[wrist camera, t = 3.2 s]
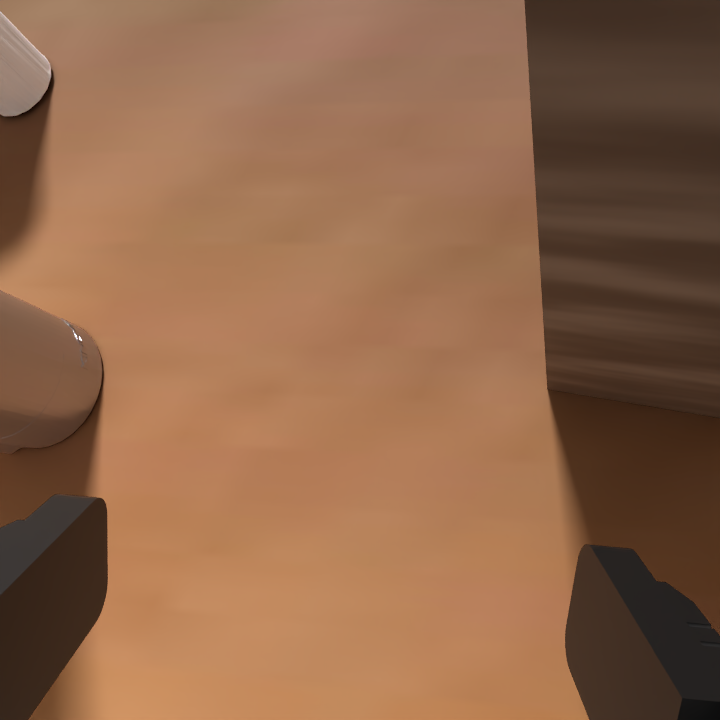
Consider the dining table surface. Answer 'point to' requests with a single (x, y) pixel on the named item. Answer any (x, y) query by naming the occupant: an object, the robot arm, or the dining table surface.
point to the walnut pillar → (629, 197)
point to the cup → (20, 71)
